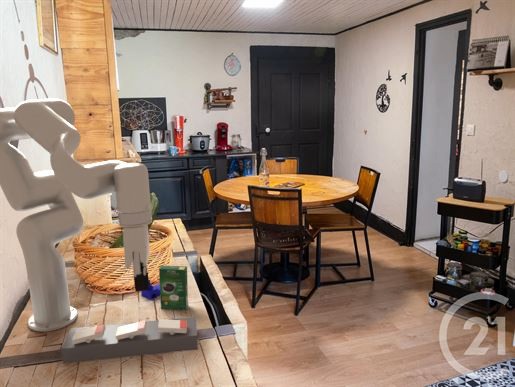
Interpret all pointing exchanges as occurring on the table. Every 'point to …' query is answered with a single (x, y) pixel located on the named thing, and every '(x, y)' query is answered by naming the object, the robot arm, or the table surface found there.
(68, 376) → the table surface
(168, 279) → the coffee box
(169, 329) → the rocker
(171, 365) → the table surface
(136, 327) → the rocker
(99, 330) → the rocker
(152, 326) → the rocker switch panel
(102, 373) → the table surface
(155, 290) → the blue piece
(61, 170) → the robot arm
